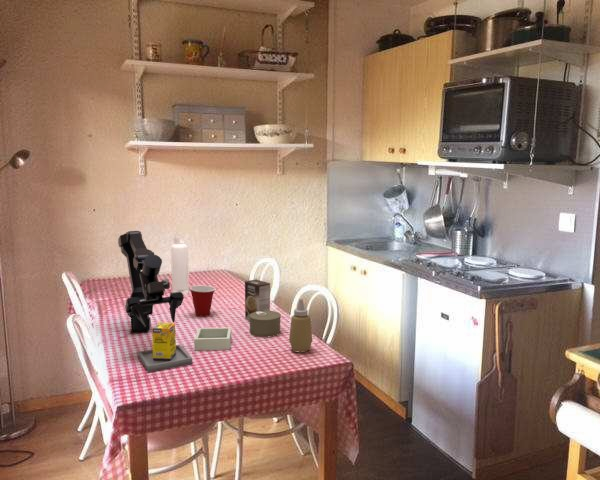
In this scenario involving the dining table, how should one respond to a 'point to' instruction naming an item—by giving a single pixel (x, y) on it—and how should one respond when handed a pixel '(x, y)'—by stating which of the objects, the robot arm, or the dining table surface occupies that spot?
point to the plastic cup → (202, 299)
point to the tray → (156, 365)
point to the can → (264, 323)
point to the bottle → (179, 266)
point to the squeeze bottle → (300, 329)
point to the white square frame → (213, 339)
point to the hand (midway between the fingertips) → (160, 324)
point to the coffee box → (256, 297)
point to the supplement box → (164, 341)
